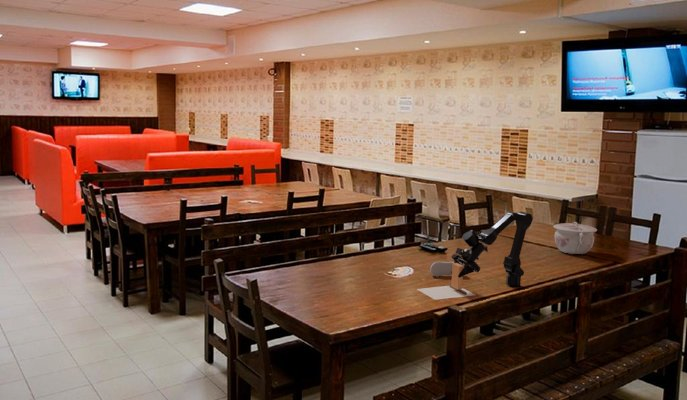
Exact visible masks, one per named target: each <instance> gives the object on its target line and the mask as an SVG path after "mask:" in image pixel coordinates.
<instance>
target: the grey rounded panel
mask: <svg viewBox="0 0 687 400" xmlns="http://www.w3.org/2000/svg"><path fill="white" fill-rule="evenodd" d="M452 263H454V261H435V262H433V263H432V264H431V266H430V268H429V271H430V273H431V275H432V276H433V277H435V276H436V277H435V278H439V276H440V277H443V276H452V274H451V272H452ZM462 266H463V268H464V264H463V265H462Z"/></svg>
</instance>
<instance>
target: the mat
mask: <svg viewBox="0 0 687 400" xmlns="http://www.w3.org/2000/svg"><path fill="white" fill-rule="evenodd" d="M449 286H450V285H443V286H442V285H441V286H432V287H424V288H417V289H416V290H417V291H419V292H420V293H422V294H424V295H426V296H427V297H430V298H431V299H433V300H434V301H436V300H437V301H438V300H447V299H454V298H463V297H464V298H465V297H472V296H476V293H473V292H471V291H469V290H467V289H465V288H463V287H462V289H461V290H463V291H465V292H467V295H464V294H462V293H460V292H458V291H456V290H454V289H453V288H451V287H449Z"/></svg>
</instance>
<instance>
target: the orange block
mask: <svg viewBox="0 0 687 400" xmlns="http://www.w3.org/2000/svg"><path fill="white" fill-rule="evenodd" d="M462 269H463V266H462V265H460V264H458V263H452V275H451V280H450V281H451V282H450V283H451V284H450V285H451V286H452V287H454V288H456V289H458V290H459V289H462V288H463V282H464V281H463V280H464V276H462V277H460V278H459V277H458V275H459V274H460V272H461V271H462Z"/></svg>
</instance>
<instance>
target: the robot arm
mask: <svg viewBox="0 0 687 400" xmlns="http://www.w3.org/2000/svg"><path fill="white" fill-rule="evenodd" d="M514 221H515V226H516V227H515V228H516V229H515V234H514V238H513V240H512V241H513V242H512V244H511V245H512V246H511V249H510V252H509V255H507V256H505V257H504V261H503V262H502V264H503V268H504V271H505V273H507V275H506V279H505V280H506V281H505V284H506V285H507V286H508V287H510V288H512V287H513V288H516V287H517V288H521V287H522V285H521V281H522V276H523V277H524V274H525V271H524V270H523V269H522V267H521V264H522V262H521V258H520V256H521V252H522V248H523V245H524V241H525V237H526V233H527V230H528V229H529V228H530V227H531V225H532V222H533V221H534V217H533V215H532V214H531V213H529V212H525V211H519V212H512V211H507V212H506V214H505V215H504V216H503V217H502V218H500V220H498V221H497V222H496V223H495V224H494V225H493V226H491V227H490V228H488V229H485V230H483V231H481V232H480V233H479V234H477V233H476V232H475V230H472V229H470V230H469V231H467V232H465V233H463V234H462V237H461V239H462V240H463V242H464V243H465V244H466V245H467V246H468V247H469V249H468V248H465V249H462V248H461V247H457V248H456V250H455V252H454V253H452V255H451V256H450V257H451V258H452V259H453V262H454V263H458V264H460V265H464V268H463V269H462V271H461V272H460V274H459V275H458V277H459V278H460V277H462V276H463V277H464V276H466V275H469V274H471V273H477V274H479V272H481V267H480V266H479V264H477V262H476V260H477V261H479V259H480V258H479V257H480V256H481V254H482V253H483V252H486V253H488V251H489V250H488V246H491V245H493V244H494V242H495V241H496V240H497V238H498V236H499V234H500V233H502V232H503V231H504V230H505V229H507V227H508V226H509V225H511V224H512V223H513V222H514ZM451 274H452V272H451Z"/></svg>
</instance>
